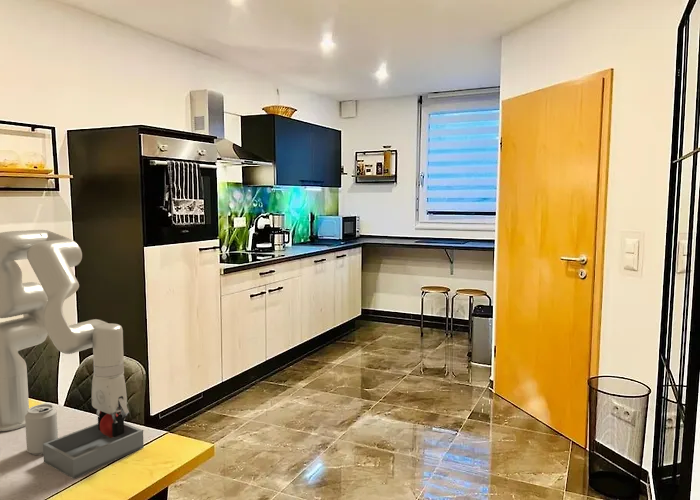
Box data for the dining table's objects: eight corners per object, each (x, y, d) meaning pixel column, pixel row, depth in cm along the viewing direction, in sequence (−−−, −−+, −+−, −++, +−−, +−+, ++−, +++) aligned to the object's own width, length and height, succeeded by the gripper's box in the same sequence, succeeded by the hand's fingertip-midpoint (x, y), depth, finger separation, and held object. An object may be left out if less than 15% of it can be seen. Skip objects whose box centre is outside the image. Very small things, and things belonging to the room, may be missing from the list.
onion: (100, 434, 146) (99, 407, 145) (123, 431, 148) (122, 404, 148) (99, 443, 141) (98, 415, 140) (122, 440, 143) (121, 412, 142)
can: (44, 457, 139) (41, 414, 138) (20, 454, 140) (17, 411, 139) (64, 444, 146) (62, 403, 145) (41, 441, 148) (39, 401, 146)
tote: (43, 462, 137) (42, 443, 136) (113, 433, 153) (112, 417, 152) (73, 479, 129) (73, 459, 128) (143, 447, 145) (143, 430, 144)
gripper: (78, 366, 144) (80, 428, 146) (114, 379, 135) (117, 445, 137) (103, 359, 150) (106, 419, 152) (140, 371, 141) (142, 435, 143)
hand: (111, 431), depth 144 cm, fingers closed on onion, 6 cm apart
